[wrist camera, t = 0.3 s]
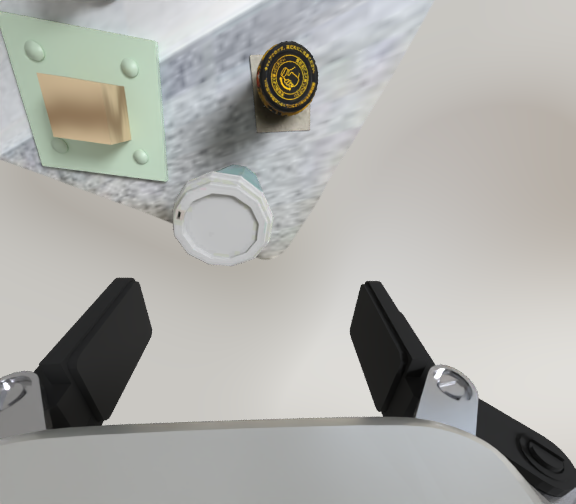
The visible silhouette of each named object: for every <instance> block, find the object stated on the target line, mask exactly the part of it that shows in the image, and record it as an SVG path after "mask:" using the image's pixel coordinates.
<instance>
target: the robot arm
mask: <svg viewBox="0 0 576 504" xmlns="http://www.w3.org/2000/svg"><path fill="white" fill-rule="evenodd" d="M151 335H152V327H151V324H150V320H149V316H148V313H147V310H146V306H145V302H144V298H143V295H142V291H141V287H140V284H139V282H135V280H134V279H133V278H116V279H115V280H114V281H113V282H112V283H111V284H110V285H109V286H108V287H107V289H106V290H105V291H104V292H103V293H102V294H101V295H100V296H99V298H98V299H97V300H96V301H95V302H94V303H93V304H92V305H91V306H90V308H89V309H88V310H87V311H86V312H85V313H84V314H83V316H81V318H80V319H79V320H78V321H77V322H76V323H75V324H74V325H73V327H72V328H71V329H70V330H69V331H68V332H67V333H66V334H65V336H64V337H63V338H62V339H61V340H60V341H59V342H58V344H57V345H56V346H55V347H54V348H53V349H52V350H51V351H50V352H49V353H48V355H47V356H46V357H45V358H44V359H43V360H42V361H41V362H40V363H39V365H40V366H39V367H38V368H37V369H36V370H35V371H34V372H30V371H21V372H16V373H12V374H9V375H7V376H4V377H2V378H0V504H576V469H575V468H574V466H573V464H572V463H571V461H570V460H569V459H568V457H567V456H566V455H565V454H564V453H563V452H562V451H561V450H560V449H559V448H558V447H557V446H556V445H555V444H554V443H552V442H551V441H549V440H548V439H546V438H545V437H544V436H542V435H540V434H539V433H537V432H535V431H533V430H532V429H530V428H528V427H527V426H525V425H523V424H521V423H520V422H518V421H516V420H515V419H512V418H511V417H510V416H508V415H506V414H504V413H503V412H501V411H499V410H498V409H496V408H494V407H493V406H491V405H489V404H487V403H486V402H484V401H482V400H480V399H479V398H478V392H477V389H476V387H475V386H474V384H473V383H472V382H471V381H470V379H469V378H468V377H467V376H465V375H464V374H463V373H462V372H460V371H458V370H457V369H455V368H452V367H450V366H447V365H435V364H434V362H433V360H432V359H431V357H430V356H429V354H428V353H427V351H426V350H425V348H424V346H423V345H422V343H421V342H420V341H419V339H418V337H417V336H416V334H415V333H414V331H413V330H412V328H411V326H410V325H409V323H408V322H407V320H406V318H405V317H404V315H403V314H402V313H401V312H399V310H398V309H397V307H396V306H395V304H394V302H393V301H392V299H391V298H390V296H389V295H388V293H387V291H386V290H385V288H384V287H383V285H382V284H381V282H379V281H366V282H365V284H362V285H361V287H360V291H359V295H358V299H357V303H356V307H355V311H354V316H353V319H352V323H351V327H350V335H351V339H352V342H353V344H354V347H355V350H356V353H357V356H358V358H359V361H360V364H361V367H362V370H363V373H364V376H365V378H366V381H367V384H368V387H369V390H370V392H371V395H372V398H373V401H374V404H375V407H376V409H377V410H378V411H379V412H382V414H383V417H336V418H335V417H334V418H299V419H298V418H297V419H263V420H234V421H205V422H204V421H203V422H178V423H177V422H176V423H153V424H152V423H150V424H125V425H106V426H101V425H102V423H103V421H104V420H107V419H109V417H110V416H111V414H112V412H113V410H114V408H115V406H116V404H117V402H118V400H119V398H120V396H121V394H122V392H123V391H124V389H125V387H126V385H127V383H128V381H129V379H130V377H131V375H132V373H133V371H134V369H135V367H136V365H137V363H138V361H139V359H140V357H141V356H142V353H143V352H144V350H145V348H146V346H147V344H148V342H149V340H150V338H151Z"/></svg>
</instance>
